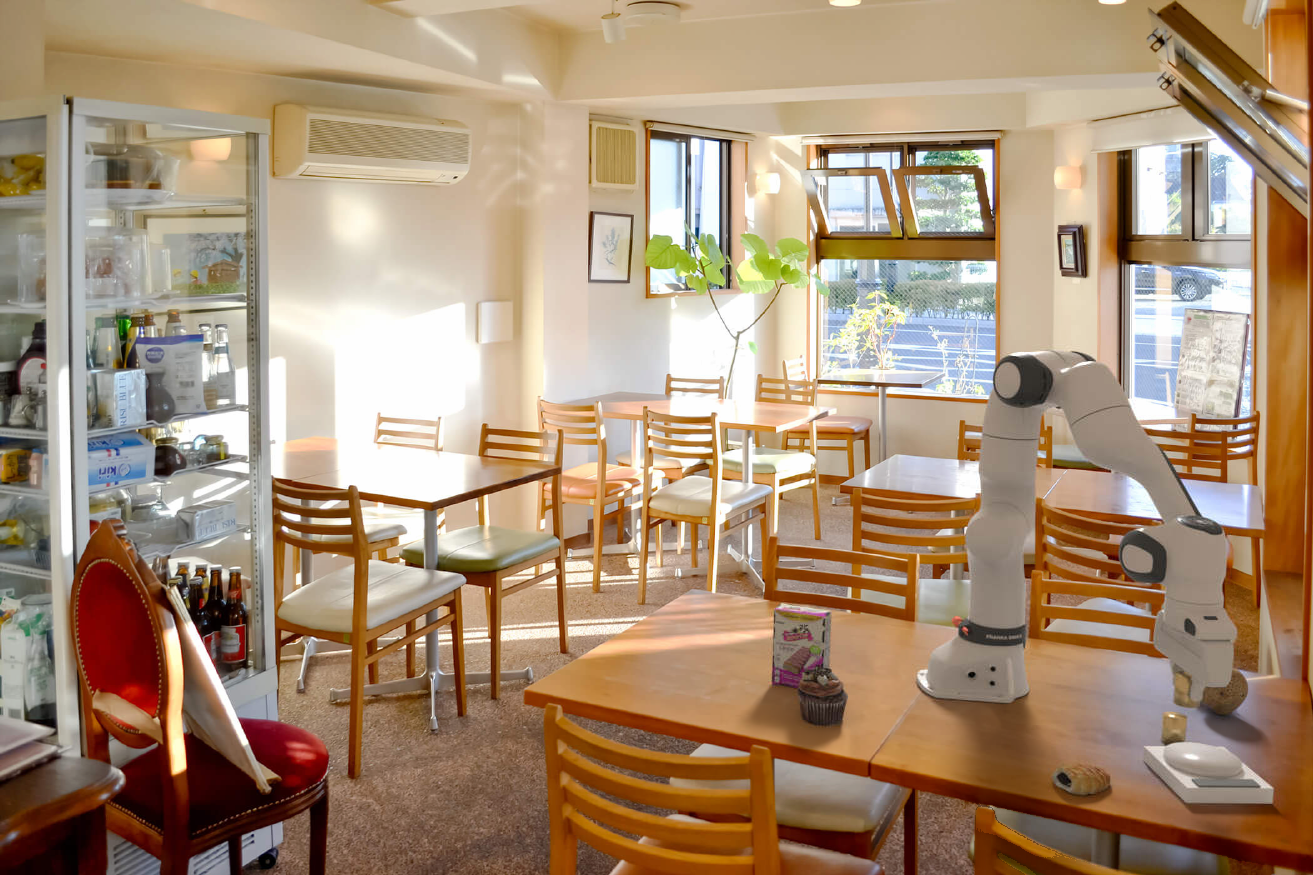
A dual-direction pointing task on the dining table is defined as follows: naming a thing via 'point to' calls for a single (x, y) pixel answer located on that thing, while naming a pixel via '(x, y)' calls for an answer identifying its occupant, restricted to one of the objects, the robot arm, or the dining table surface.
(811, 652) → the candy bar box
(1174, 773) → the scale
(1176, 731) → the cylinder
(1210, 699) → the natural sponge
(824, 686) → the cupcake
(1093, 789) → the pastry
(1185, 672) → the cylinder
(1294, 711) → the dining table surface
